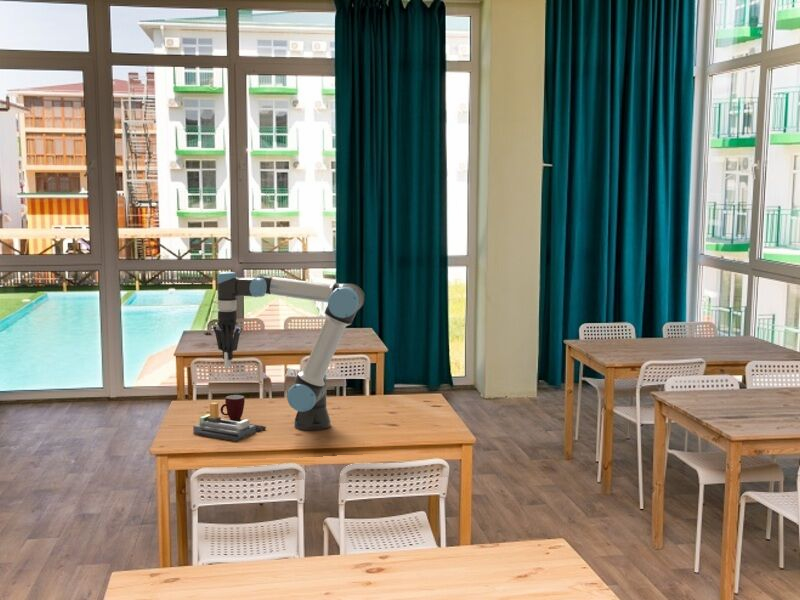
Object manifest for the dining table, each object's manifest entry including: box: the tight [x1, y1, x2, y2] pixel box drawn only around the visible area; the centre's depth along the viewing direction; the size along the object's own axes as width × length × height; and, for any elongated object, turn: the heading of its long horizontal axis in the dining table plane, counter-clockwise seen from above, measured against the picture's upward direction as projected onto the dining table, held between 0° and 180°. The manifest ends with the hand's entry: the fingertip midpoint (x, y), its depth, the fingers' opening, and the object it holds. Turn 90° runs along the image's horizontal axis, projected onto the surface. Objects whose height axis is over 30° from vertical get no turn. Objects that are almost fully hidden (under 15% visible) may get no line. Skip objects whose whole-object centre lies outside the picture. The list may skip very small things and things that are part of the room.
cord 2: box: [250, 423, 267, 431], centre depth 367 cm, size 25×2×2 cm, turn 68°
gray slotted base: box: [192, 413, 257, 441], centre depth 357 cm, size 22×12×6 cm, turn 65°
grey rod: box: [256, 426, 263, 432], centre depth 365 cm, size 24×2×2 cm, turn 65°
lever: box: [208, 401, 222, 423], centre depth 358 cm, size 4×3×8 cm
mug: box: [219, 394, 245, 422], centre depth 377 cm, size 10×8×10 cm
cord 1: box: [197, 431, 239, 442], centre depth 350 cm, size 20×2×2 cm, turn 63°
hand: (227, 367), depth 358 cm, fingers closed
